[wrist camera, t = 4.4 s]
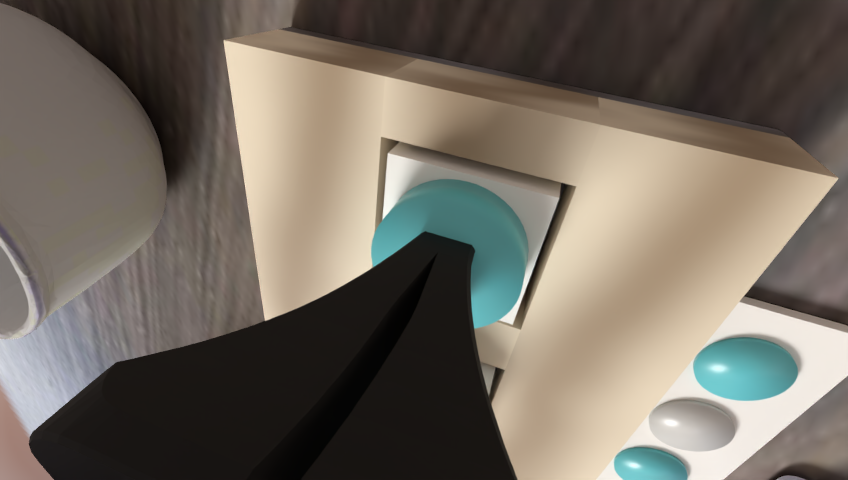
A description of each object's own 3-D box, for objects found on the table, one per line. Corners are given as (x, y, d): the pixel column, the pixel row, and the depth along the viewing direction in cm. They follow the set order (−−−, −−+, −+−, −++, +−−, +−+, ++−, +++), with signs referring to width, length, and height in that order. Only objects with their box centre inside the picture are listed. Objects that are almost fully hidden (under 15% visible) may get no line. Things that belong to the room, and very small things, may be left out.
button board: (780, 129, 10) (839, 178, 8) (533, 503, 23) (527, 564, 21) (290, 27, 13) (223, 39, 10) (313, 414, 26) (285, 459, 23)
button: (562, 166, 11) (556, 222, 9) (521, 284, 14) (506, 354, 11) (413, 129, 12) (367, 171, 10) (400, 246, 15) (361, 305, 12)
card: (877, 334, 12) (889, 349, 12) (679, 505, 19) (682, 518, 19) (698, 283, 13) (702, 295, 13) (572, 464, 20) (572, 476, 20)
